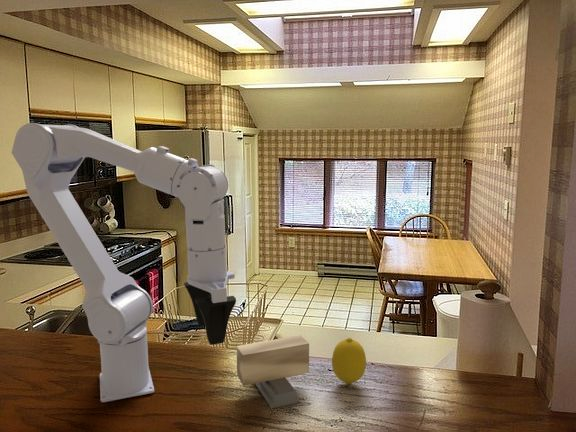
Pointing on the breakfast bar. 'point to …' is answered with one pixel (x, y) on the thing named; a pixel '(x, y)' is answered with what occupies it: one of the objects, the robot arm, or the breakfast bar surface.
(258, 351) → the bar
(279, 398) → the stepped block
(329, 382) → the breakfast bar surface
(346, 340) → the lemon
